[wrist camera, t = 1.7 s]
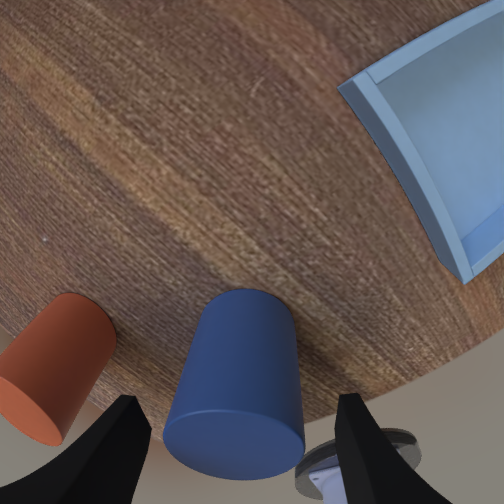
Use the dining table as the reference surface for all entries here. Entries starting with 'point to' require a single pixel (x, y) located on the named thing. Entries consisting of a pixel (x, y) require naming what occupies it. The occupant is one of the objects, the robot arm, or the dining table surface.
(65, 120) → the dining table surface
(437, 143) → the blue tray
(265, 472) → the blue cylinder
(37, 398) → the orange cylinder
